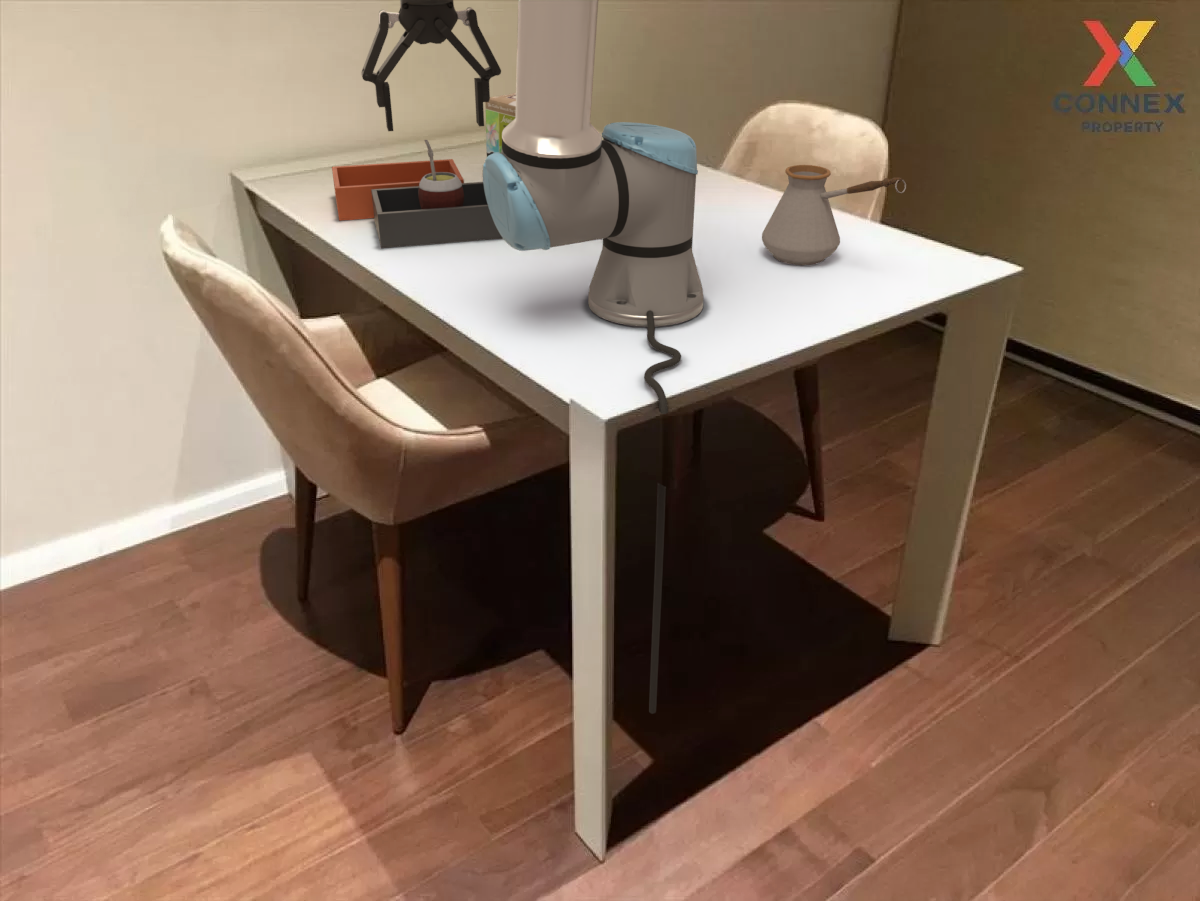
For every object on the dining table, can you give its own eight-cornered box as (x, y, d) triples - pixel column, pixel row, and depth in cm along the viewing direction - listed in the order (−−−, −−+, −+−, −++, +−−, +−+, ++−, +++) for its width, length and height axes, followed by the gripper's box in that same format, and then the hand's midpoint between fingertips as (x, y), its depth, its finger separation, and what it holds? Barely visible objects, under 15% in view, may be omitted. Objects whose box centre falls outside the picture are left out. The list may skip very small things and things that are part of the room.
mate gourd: (453, 217, 169) (447, 123, 162) (475, 230, 164) (470, 133, 156) (411, 224, 166) (402, 129, 158) (432, 238, 160) (425, 140, 153)
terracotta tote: (465, 211, 173) (463, 179, 170) (339, 220, 169) (335, 188, 166) (454, 189, 184) (452, 158, 181) (335, 197, 179) (331, 166, 177)
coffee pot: (744, 255, 155) (752, 154, 148) (792, 238, 162) (802, 141, 155) (864, 295, 142) (879, 187, 134) (910, 275, 149) (928, 170, 141)
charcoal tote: (515, 237, 162) (514, 204, 159) (381, 248, 157) (377, 214, 155) (500, 212, 173) (499, 180, 170) (374, 221, 168) (371, 189, 165)
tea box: (524, 193, 182) (522, 106, 175) (486, 181, 188) (482, 97, 180) (583, 175, 192) (583, 92, 184) (545, 165, 198) (543, 84, 190)
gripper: (507, -32, 152) (512, 116, 163) (332, -29, 146) (349, 125, 157) (517, -26, 146) (521, 128, 157) (335, -22, 140) (352, 137, 151)
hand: (435, 126), depth 157 cm, fingers open, 13 cm apart
